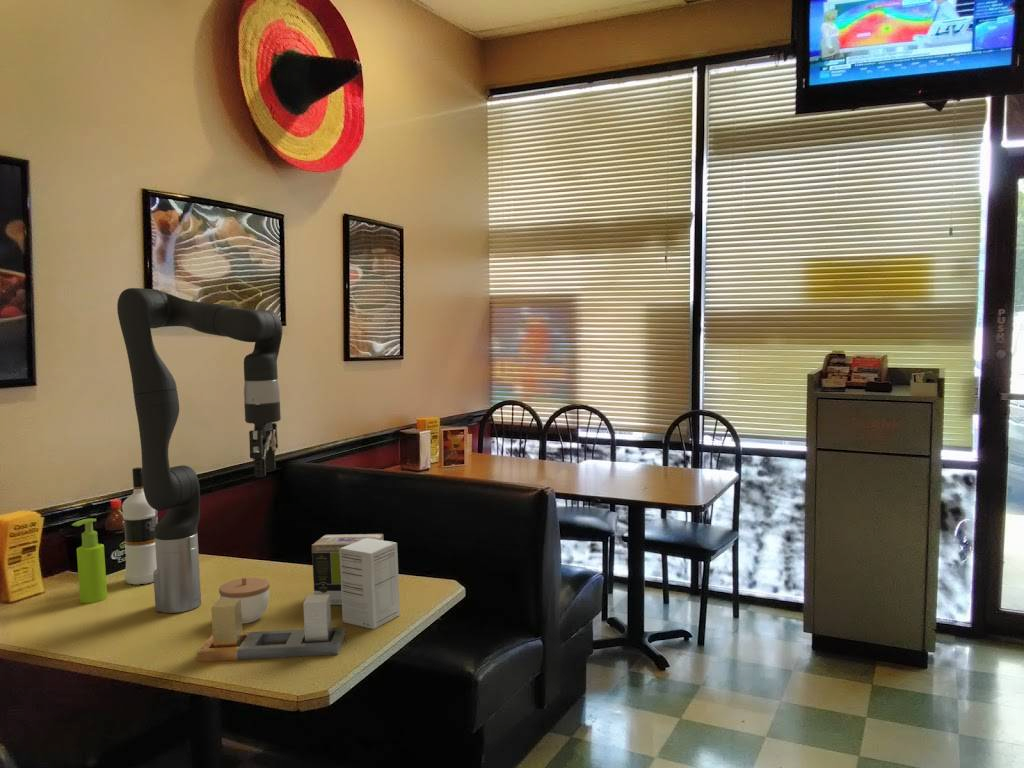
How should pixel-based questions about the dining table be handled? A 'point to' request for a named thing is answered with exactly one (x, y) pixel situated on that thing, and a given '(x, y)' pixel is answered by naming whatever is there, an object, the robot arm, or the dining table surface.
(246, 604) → the lidded jar
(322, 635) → the gray square beam
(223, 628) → the beige rectangular block
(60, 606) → the dining table surface
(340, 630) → the grey flat frame
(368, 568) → the supplement box
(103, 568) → the soap dispenser
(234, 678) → the dining table surface
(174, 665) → the dining table surface
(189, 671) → the dining table surface
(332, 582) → the tea box
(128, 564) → the vodka
